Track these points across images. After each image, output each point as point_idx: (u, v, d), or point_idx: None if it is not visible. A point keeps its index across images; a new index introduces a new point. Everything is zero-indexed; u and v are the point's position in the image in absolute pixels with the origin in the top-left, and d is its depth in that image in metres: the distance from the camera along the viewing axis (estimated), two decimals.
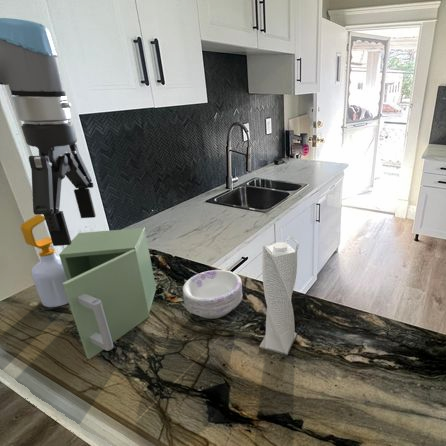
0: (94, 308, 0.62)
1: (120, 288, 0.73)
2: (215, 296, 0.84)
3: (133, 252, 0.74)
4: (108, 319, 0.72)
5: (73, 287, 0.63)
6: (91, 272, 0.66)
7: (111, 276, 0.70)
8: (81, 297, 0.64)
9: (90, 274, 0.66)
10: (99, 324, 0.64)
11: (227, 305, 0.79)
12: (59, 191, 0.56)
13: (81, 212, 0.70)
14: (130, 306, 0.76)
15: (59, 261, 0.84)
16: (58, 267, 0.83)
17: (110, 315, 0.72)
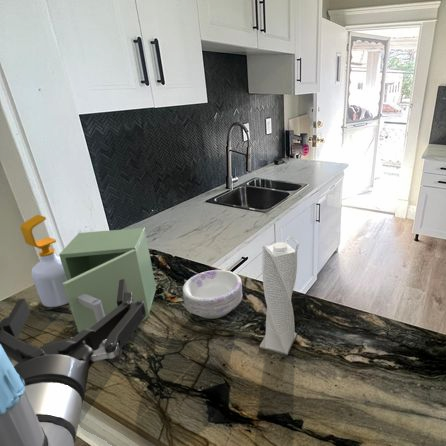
0: (94, 308, 0.62)
1: None
2: (215, 296, 0.84)
3: (133, 252, 0.74)
4: None
5: (73, 287, 0.63)
6: (91, 272, 0.66)
7: (111, 276, 0.70)
8: (81, 297, 0.64)
9: (90, 274, 0.66)
10: None
11: (227, 305, 0.79)
12: None
13: (119, 285, 0.52)
14: None
15: (59, 261, 0.84)
16: (58, 267, 0.83)
17: None
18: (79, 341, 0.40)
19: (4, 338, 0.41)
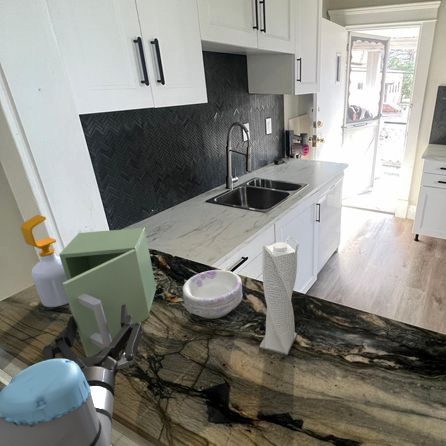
0: (94, 308, 0.62)
1: (120, 288, 0.73)
2: (215, 296, 0.84)
3: (133, 252, 0.74)
4: (108, 319, 0.72)
5: (73, 287, 0.63)
6: (91, 272, 0.66)
7: (110, 276, 0.70)
8: (81, 297, 0.64)
9: (90, 274, 0.66)
10: (99, 324, 0.64)
11: (227, 305, 0.79)
12: None
13: None
14: (130, 306, 0.76)
15: (59, 261, 0.84)
16: (58, 267, 0.83)
17: (110, 315, 0.72)
18: (106, 355, 0.56)
19: (63, 348, 0.58)
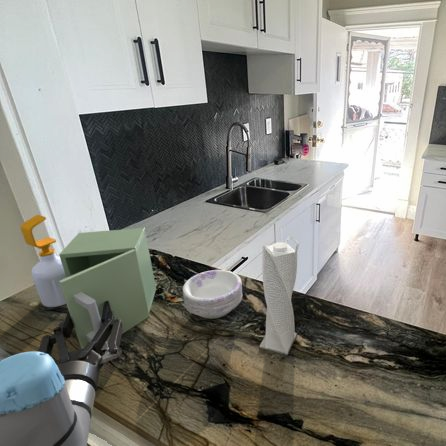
0: (88, 307, 0.62)
1: (119, 288, 0.73)
2: (215, 296, 0.84)
3: (133, 252, 0.74)
4: None
5: (69, 285, 0.63)
6: (88, 271, 0.66)
7: (109, 275, 0.70)
8: (77, 296, 0.64)
9: (87, 273, 0.66)
10: (93, 323, 0.64)
11: (227, 305, 0.79)
12: None
13: (104, 306, 0.69)
14: (129, 306, 0.76)
15: (59, 261, 0.84)
16: (58, 267, 0.83)
17: None
18: (90, 349, 0.57)
19: (58, 339, 0.60)
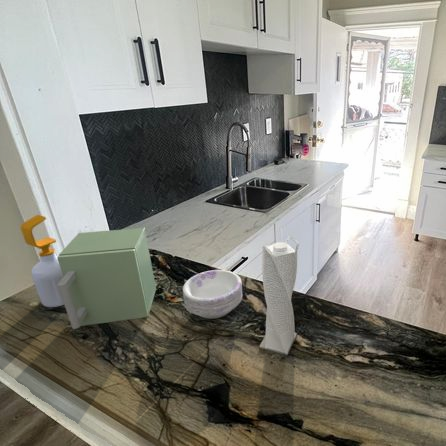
0: (59, 287, 0.68)
1: (114, 279, 0.76)
2: (215, 296, 0.84)
3: (131, 251, 0.74)
4: (100, 301, 0.77)
5: (64, 262, 0.72)
6: (83, 255, 0.72)
7: (103, 265, 0.74)
8: (67, 273, 0.72)
9: (81, 257, 0.72)
10: None
11: (227, 305, 0.79)
12: None
13: None
14: (124, 299, 0.79)
15: None
16: (58, 267, 0.83)
17: (101, 299, 0.77)
18: None
19: None
